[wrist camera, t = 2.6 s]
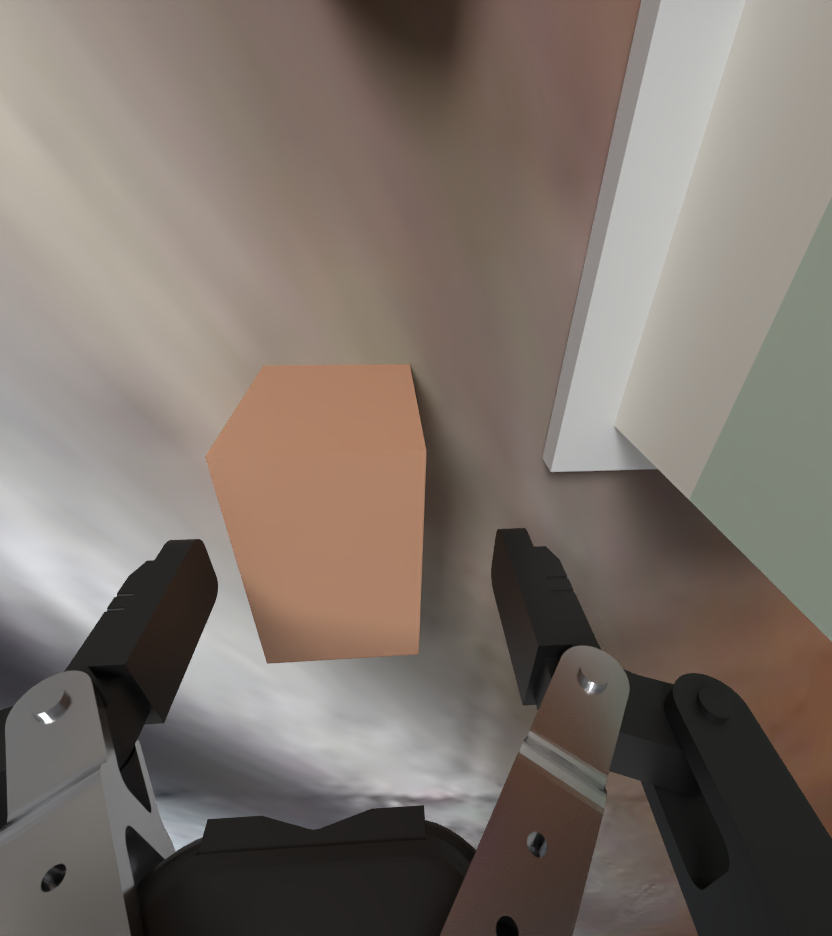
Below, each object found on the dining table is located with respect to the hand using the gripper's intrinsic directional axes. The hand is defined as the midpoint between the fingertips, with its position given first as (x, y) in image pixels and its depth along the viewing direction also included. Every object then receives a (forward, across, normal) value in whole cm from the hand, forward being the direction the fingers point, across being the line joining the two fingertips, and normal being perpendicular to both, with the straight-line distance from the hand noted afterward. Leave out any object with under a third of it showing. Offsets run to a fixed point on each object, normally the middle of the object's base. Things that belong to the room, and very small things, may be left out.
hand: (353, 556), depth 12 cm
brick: (+6, +1, 0) cm, 6 cm away
